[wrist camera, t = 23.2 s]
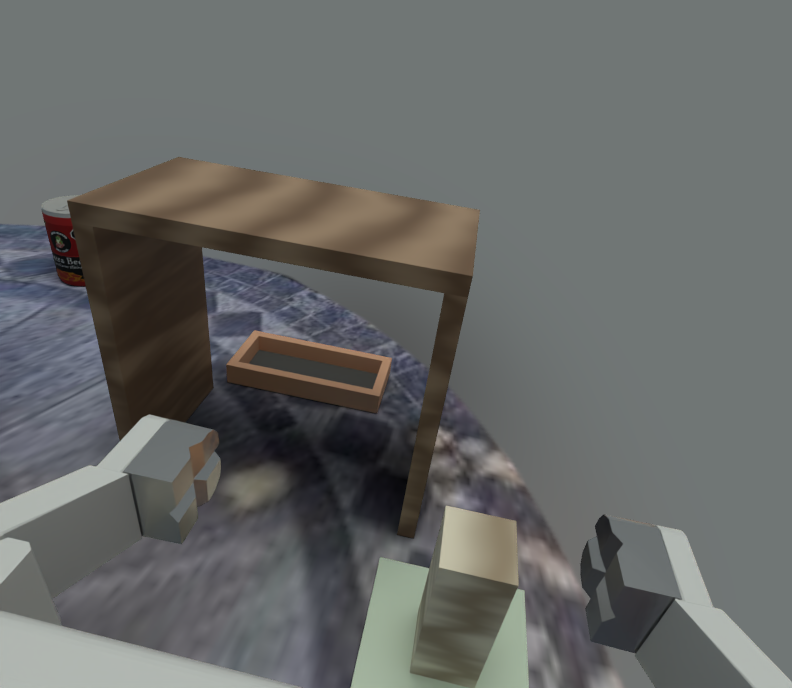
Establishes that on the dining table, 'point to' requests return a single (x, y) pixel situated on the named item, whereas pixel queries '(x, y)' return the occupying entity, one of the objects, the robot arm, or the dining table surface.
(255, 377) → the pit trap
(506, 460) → the dining table surface
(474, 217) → the walnut tunnel
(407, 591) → the sage pad
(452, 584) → the ash block
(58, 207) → the canned food
